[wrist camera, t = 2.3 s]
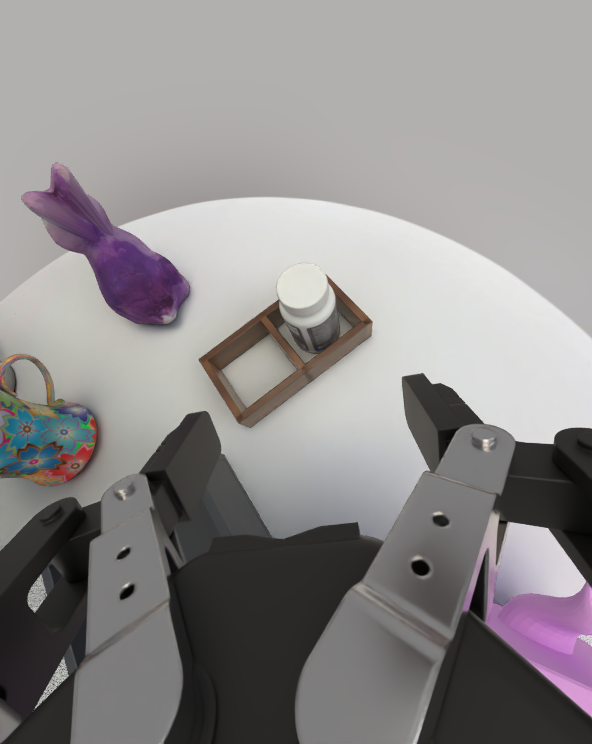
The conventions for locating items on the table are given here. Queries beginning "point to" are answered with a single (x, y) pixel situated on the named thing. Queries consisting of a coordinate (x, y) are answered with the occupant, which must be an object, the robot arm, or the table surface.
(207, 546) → the dark grey open box
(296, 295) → the pill bottle
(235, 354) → the rack
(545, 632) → the teapot
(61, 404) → the mug
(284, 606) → the robot arm
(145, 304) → the figurine
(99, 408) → the table surface
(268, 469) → the table surface
